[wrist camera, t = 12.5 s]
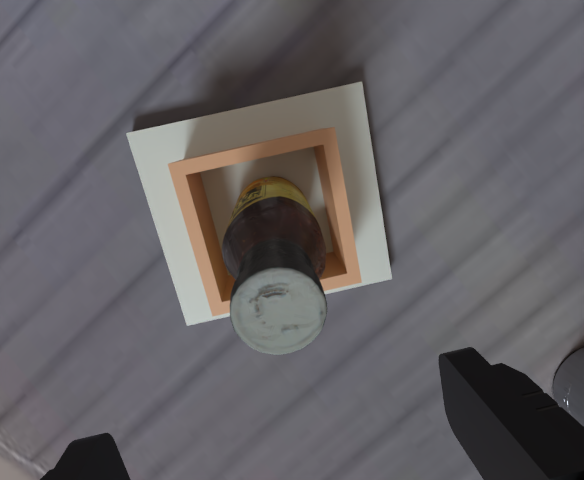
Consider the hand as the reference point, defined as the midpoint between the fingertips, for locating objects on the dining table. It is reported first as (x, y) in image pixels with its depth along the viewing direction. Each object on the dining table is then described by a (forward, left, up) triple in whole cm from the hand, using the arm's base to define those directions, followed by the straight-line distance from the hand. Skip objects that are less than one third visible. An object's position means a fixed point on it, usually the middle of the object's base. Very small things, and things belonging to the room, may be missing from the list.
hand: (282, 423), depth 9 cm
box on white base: (0, 0, -28) cm, 28 cm away
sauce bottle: (0, 0, -27) cm, 27 cm away
